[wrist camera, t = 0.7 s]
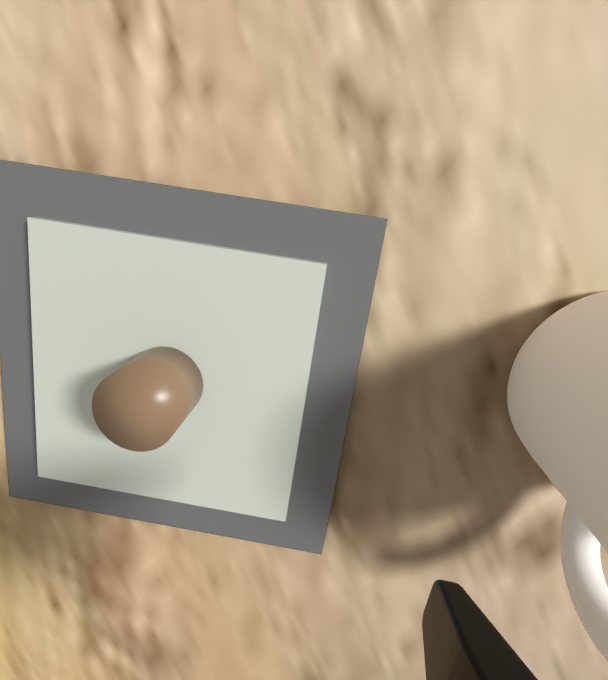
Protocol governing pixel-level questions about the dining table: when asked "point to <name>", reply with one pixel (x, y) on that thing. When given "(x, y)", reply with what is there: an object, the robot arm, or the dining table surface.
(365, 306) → the mat
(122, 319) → the panel
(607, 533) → the mug
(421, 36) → the dining table surface
